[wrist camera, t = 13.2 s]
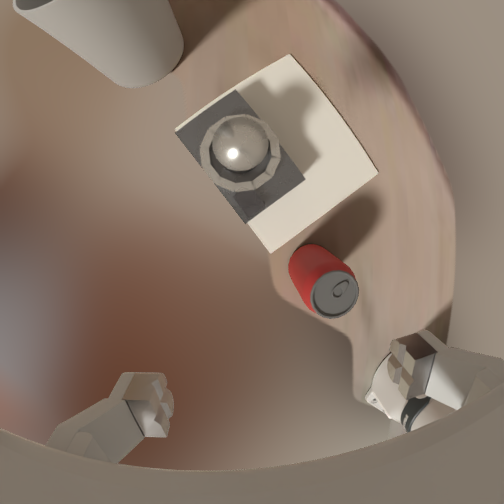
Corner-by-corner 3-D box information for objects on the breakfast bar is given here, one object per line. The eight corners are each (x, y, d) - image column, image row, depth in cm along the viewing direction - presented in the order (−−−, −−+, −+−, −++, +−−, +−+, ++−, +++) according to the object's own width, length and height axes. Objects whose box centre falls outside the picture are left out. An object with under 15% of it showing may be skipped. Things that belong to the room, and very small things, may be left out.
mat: (377, 173, 38) (378, 173, 38) (270, 253, 40) (270, 253, 40) (289, 55, 34) (289, 54, 33) (175, 129, 36) (174, 129, 35)
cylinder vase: (176, 89, 34) (105, -13, 10) (101, 92, 33) (-6, 31, 9) (192, 22, 31) (157, -91, 7) (119, 27, 31) (48, -56, 6)
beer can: (339, 262, 41) (374, 290, 29) (309, 295, 42) (333, 333, 30) (309, 233, 40) (336, 252, 28) (278, 267, 41) (292, 300, 29)
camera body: (297, 180, 37) (309, 179, 31) (244, 219, 38) (245, 226, 32) (236, 100, 35) (235, 84, 28) (182, 139, 36) (171, 130, 29)
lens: (265, 134, 31) (272, 121, 24) (259, 177, 32) (264, 174, 26) (221, 128, 31) (217, 113, 24) (215, 171, 32) (208, 166, 25)
